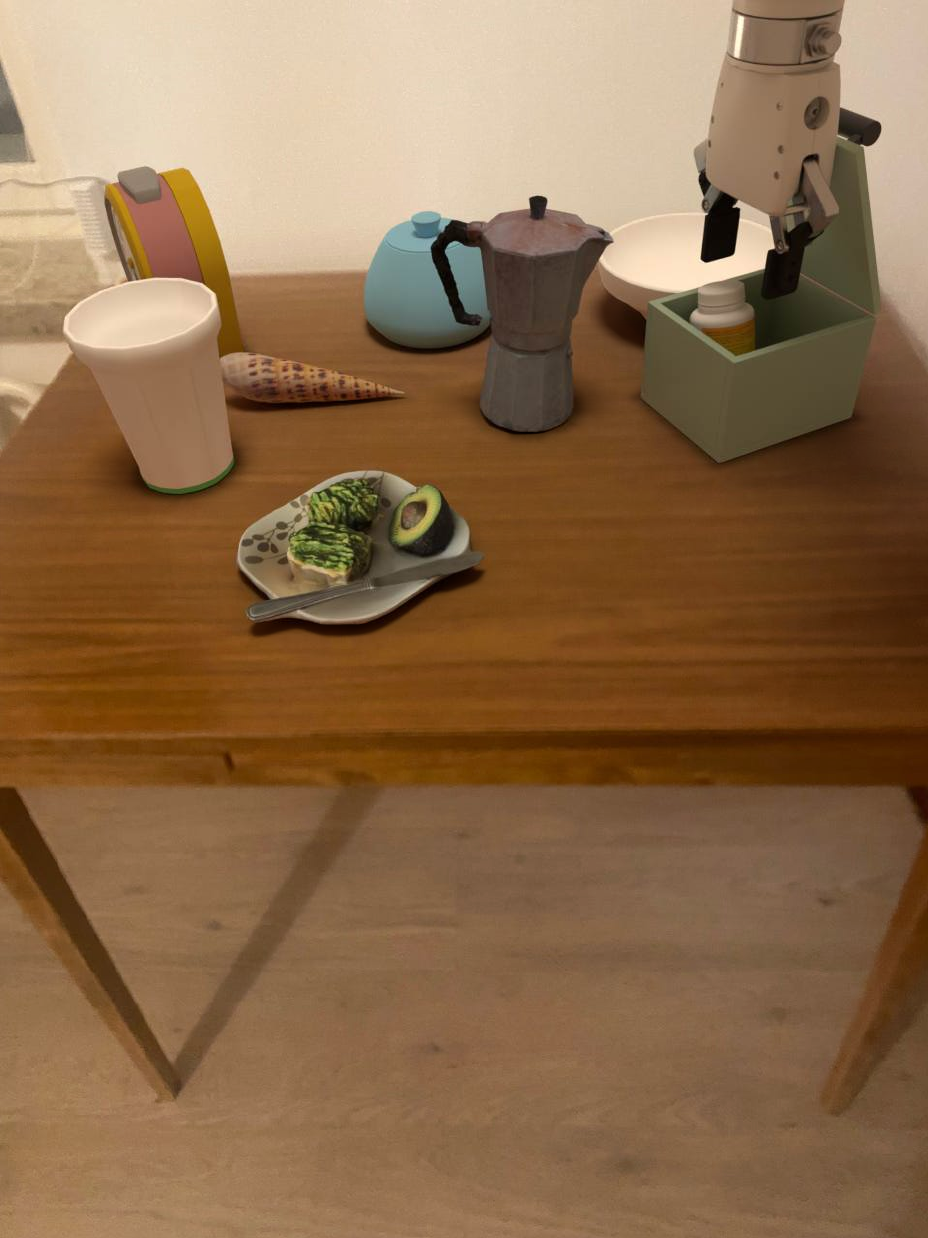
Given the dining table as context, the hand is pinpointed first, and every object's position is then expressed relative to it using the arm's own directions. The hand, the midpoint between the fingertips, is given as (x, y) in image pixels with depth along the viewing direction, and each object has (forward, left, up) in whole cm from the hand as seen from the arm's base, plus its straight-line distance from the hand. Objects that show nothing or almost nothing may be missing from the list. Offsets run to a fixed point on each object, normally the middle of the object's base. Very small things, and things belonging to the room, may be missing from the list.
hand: (746, 274), depth 81 cm
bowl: (+18, -8, -14) cm, 24 cm away
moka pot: (+10, +16, -14) cm, 23 cm away
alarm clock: (+40, +41, -14) cm, 59 cm away
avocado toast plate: (-3, +37, -14) cm, 40 cm away
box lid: (0, -6, +4) cm, 7 cm away
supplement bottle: (0, 0, -12) cm, 12 cm away
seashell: (+22, +33, -14) cm, 42 cm away
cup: (+17, +47, -14) cm, 52 cm away
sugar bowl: (+31, +16, -14) cm, 37 cm away
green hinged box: (0, -2, -13) cm, 14 cm away
